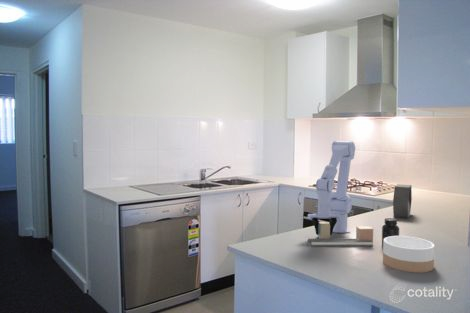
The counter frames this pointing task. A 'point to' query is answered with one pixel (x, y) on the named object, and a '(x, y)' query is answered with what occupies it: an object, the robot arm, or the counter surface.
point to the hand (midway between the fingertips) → (323, 234)
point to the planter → (402, 201)
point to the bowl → (408, 253)
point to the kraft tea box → (324, 230)
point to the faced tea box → (364, 233)
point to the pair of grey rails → (339, 242)
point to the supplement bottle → (390, 228)
